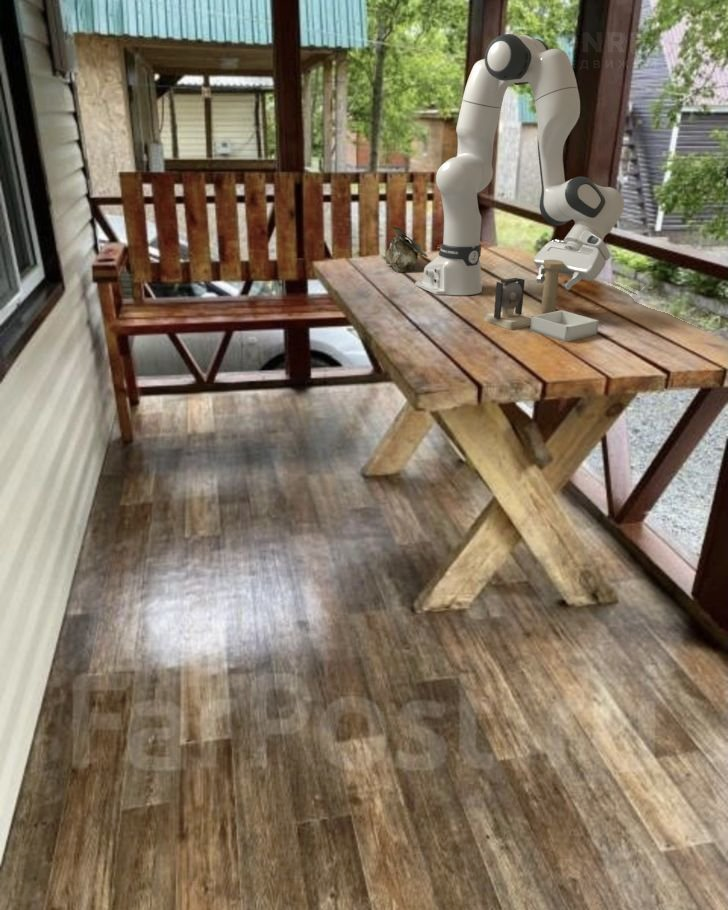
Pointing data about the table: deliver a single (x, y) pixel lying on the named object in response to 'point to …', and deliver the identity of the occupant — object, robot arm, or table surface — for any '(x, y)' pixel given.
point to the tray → (564, 325)
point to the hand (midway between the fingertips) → (551, 284)
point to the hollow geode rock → (403, 252)
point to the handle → (550, 285)
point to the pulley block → (509, 305)
